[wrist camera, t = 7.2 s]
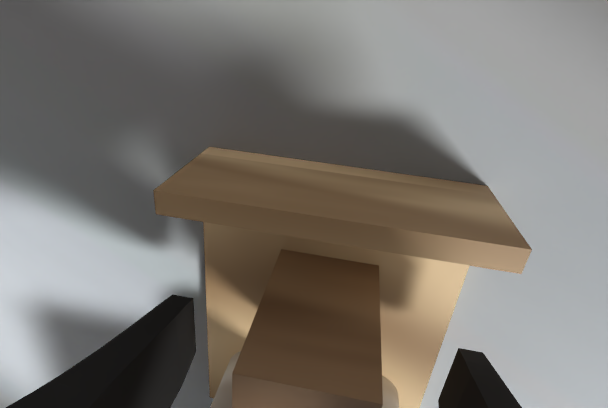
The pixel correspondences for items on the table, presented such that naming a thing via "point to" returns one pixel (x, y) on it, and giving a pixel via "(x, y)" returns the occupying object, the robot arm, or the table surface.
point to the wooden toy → (331, 275)
